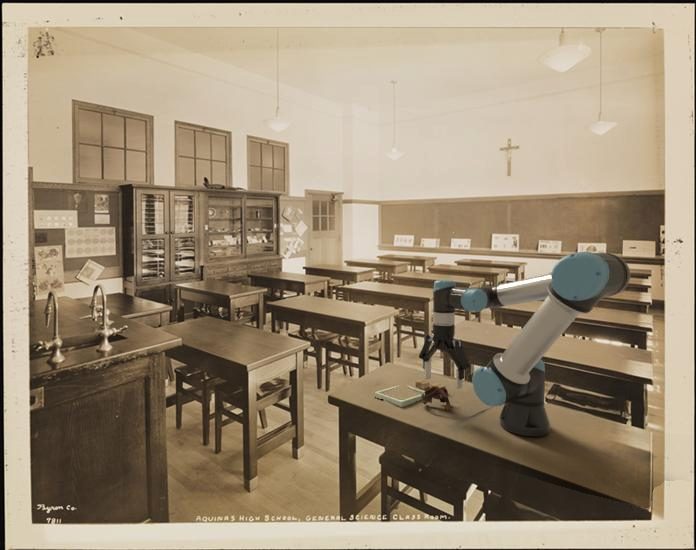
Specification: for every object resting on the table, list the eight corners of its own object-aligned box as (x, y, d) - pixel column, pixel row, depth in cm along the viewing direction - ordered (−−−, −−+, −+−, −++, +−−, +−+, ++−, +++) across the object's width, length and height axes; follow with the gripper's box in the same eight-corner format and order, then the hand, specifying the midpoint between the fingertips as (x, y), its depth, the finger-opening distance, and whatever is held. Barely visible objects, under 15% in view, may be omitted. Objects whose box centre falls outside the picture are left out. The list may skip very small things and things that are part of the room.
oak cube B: (429, 391, 163) (429, 381, 163) (423, 393, 161) (423, 383, 160) (422, 389, 166) (422, 379, 166) (415, 391, 164) (415, 381, 164)
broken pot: (447, 415, 138) (435, 393, 139) (425, 421, 144) (414, 400, 144) (459, 398, 148) (448, 378, 148) (438, 404, 153) (427, 384, 154)
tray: (430, 397, 156) (430, 392, 155) (401, 407, 145) (401, 402, 145) (402, 389, 166) (402, 384, 166) (374, 397, 156) (374, 392, 156)
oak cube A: (445, 395, 158) (445, 385, 158) (439, 397, 156) (439, 387, 156) (437, 393, 162) (437, 383, 161) (430, 395, 159) (431, 385, 159)
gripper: (481, 327, 136) (479, 390, 137) (423, 318, 156) (422, 373, 157) (468, 330, 132) (466, 394, 133) (409, 320, 151) (409, 377, 152)
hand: (442, 383), depth 145 cm, fingers open, 13 cm apart
